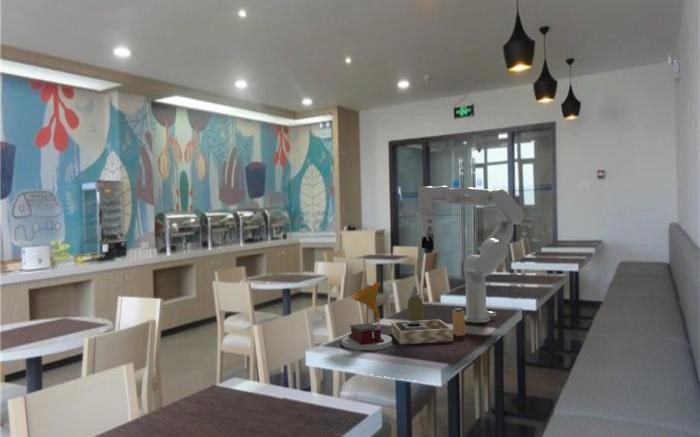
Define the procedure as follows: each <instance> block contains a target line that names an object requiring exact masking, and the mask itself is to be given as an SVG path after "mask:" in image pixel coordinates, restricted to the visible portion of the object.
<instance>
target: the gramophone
mask: <svg viewBox="0 0 700 437" xmlns="http://www.w3.org/2000/svg"><path fill="white" fill-rule="evenodd" d="M381 283H382V281H378V282H376V281H375V283H373V285H369V284H368V285H366V286H365V287H364V288H363V289H358V290H357V292H356V293H355V294H352V295H350V298H349V299H350V300H355V301H356V302H359V303H361V304H363V305H366V306H368V307H369V308H370V309H371V311H373V313H374V314H375V315H376V318H375V321H371V323H370V322H366V323H358V324H350V325H349V327H350V332H351V333H350V334H348V335H346V336H344V337H343V338H342V339H341V345H342V346H344V347H343V348H345V347H346V348H345V349H347V348H350V349H349V350H351V349H355V350H354V351H359V350H372V351H378V350H379V351H380V350H384V349H387V348H390V347H391V346H392V345H393V337H392V336H390V335H387V334H382V331H383V329H382V328H380V327H381V324H380V321H381V318H380V311H379V309H378V306H377V302H376V301H377V297H378V292H379V291H378V290H379V288H380V285H381ZM375 324H377V326H376V325H375Z"/></svg>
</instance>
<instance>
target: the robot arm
mask: <svg viewBox="0 0 700 437" xmlns="http://www.w3.org/2000/svg"><path fill="white" fill-rule="evenodd" d="M417 192H418V193H417V195H418V198H417V199H418V202H417V203H418V216H419V217H420V235H421V248H422V249H426V250H429V251H430V250H431V251H432V250H435V248H434V242H435V240H434V237H436V224H435V217H434V216H435V214H436V210H435V203H441V204H442V203H443V204H454V205H462V206H477V207H486V208H497V209H498V210H497V212H496V222H497V224H496V228H495V229H494V231H493V232H492V233H491V234H490V235H489V236H488V237H487V238H486V239H485V240H484V241H483V242H482V244H481V245H480V247H479V252H480V254H481V255H480V254H470V255H468V256H466V258H465V259H464V260H463V263H462V264H463V266H462V267H463V268H462V269H463V273H464V280H465V282H464V283H465V311H466V312H465V322H467V323H477V324H480V323H481V324H482V323H487V322H490V321H491V316H492V317H495V316H497V311H489V310H487V286H486V285H487V283H486V277H487V276H488V277H489V276H490V275H491V274H492V273H493V272H494V271H495V270H496V269H497V268H498V267H499V266H500V265H501V264H502V262H504V261H505V259H506V258H507V256H508V254H509V246H508V243H509V242H510V241H511V239H512V237H513V235H514V225H518V224H521V223H522V221H523V220H524V218H525V214H524V211H523V209H522V207H521V206H520V205H519V204H518V203H517V202H516V200H515V199H513V197H512V196H511V195H510V194H509V193H508V192H507V191H506V190H505V189H502V188H496V189H492V188H491V189H488V188H477V187H460V188H458V187H457V188H456V187H453V188H452V187H451V188H450V187H449V186H447V185H440V186H420V187H419V188H418V190H417Z"/></svg>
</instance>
